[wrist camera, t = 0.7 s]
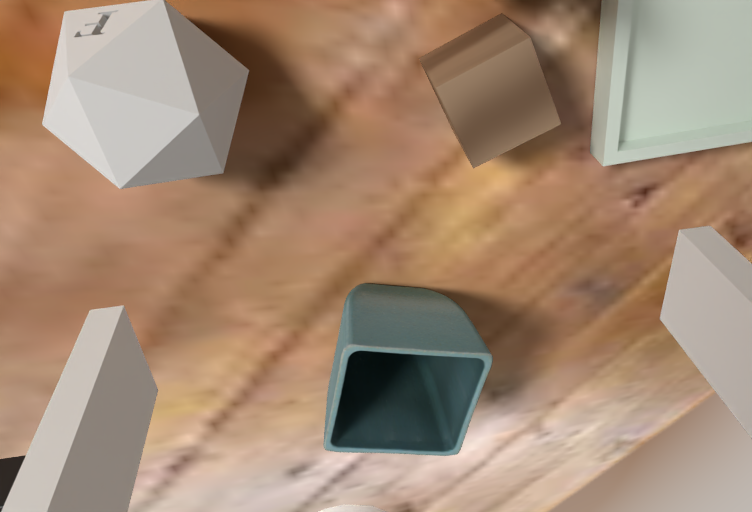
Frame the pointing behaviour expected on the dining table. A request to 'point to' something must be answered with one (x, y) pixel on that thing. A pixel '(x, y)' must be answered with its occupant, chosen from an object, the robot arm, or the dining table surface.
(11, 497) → the robot arm
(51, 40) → the dining table surface
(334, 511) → the teardrop
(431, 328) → the flower pot
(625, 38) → the coaster tray
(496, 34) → the walnut block
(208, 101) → the die
